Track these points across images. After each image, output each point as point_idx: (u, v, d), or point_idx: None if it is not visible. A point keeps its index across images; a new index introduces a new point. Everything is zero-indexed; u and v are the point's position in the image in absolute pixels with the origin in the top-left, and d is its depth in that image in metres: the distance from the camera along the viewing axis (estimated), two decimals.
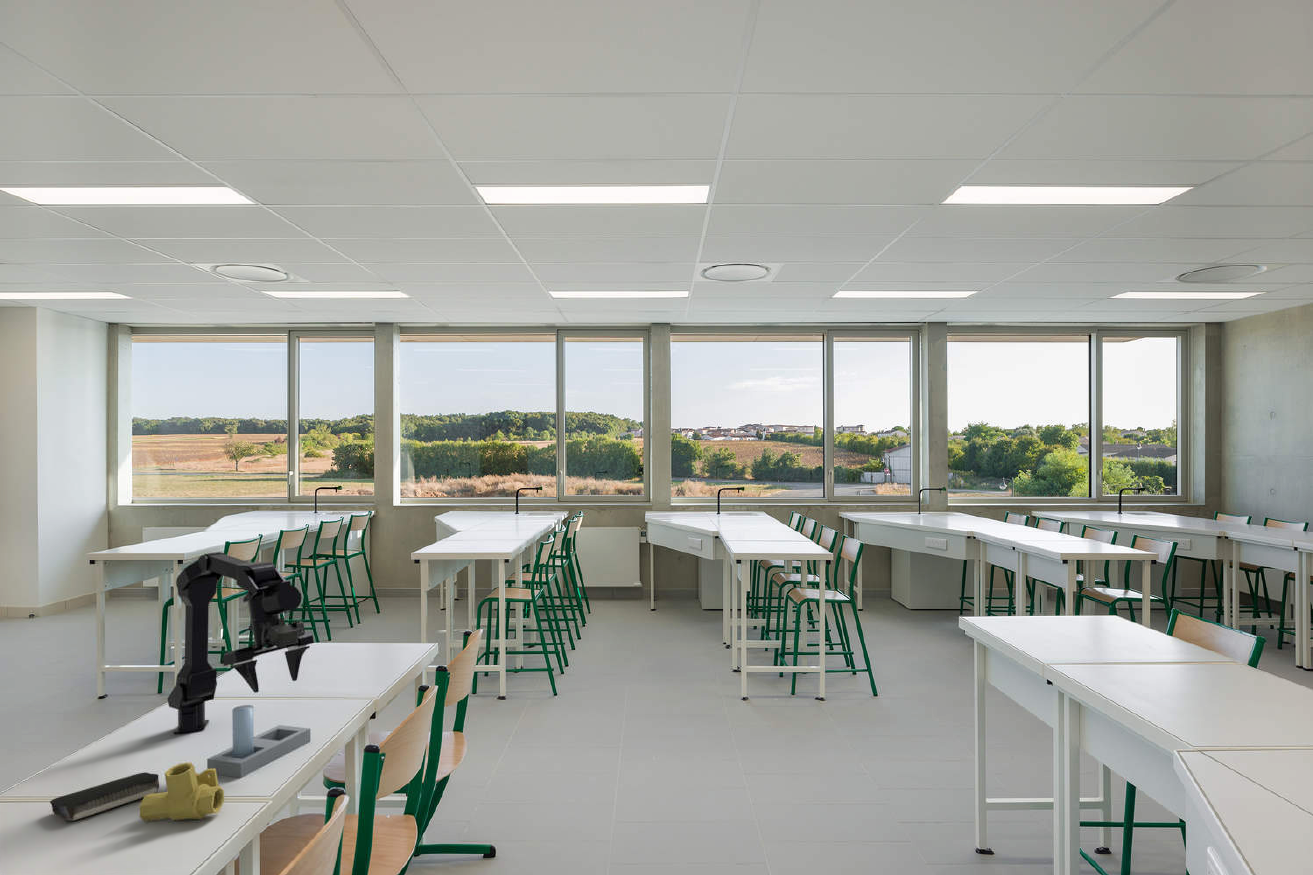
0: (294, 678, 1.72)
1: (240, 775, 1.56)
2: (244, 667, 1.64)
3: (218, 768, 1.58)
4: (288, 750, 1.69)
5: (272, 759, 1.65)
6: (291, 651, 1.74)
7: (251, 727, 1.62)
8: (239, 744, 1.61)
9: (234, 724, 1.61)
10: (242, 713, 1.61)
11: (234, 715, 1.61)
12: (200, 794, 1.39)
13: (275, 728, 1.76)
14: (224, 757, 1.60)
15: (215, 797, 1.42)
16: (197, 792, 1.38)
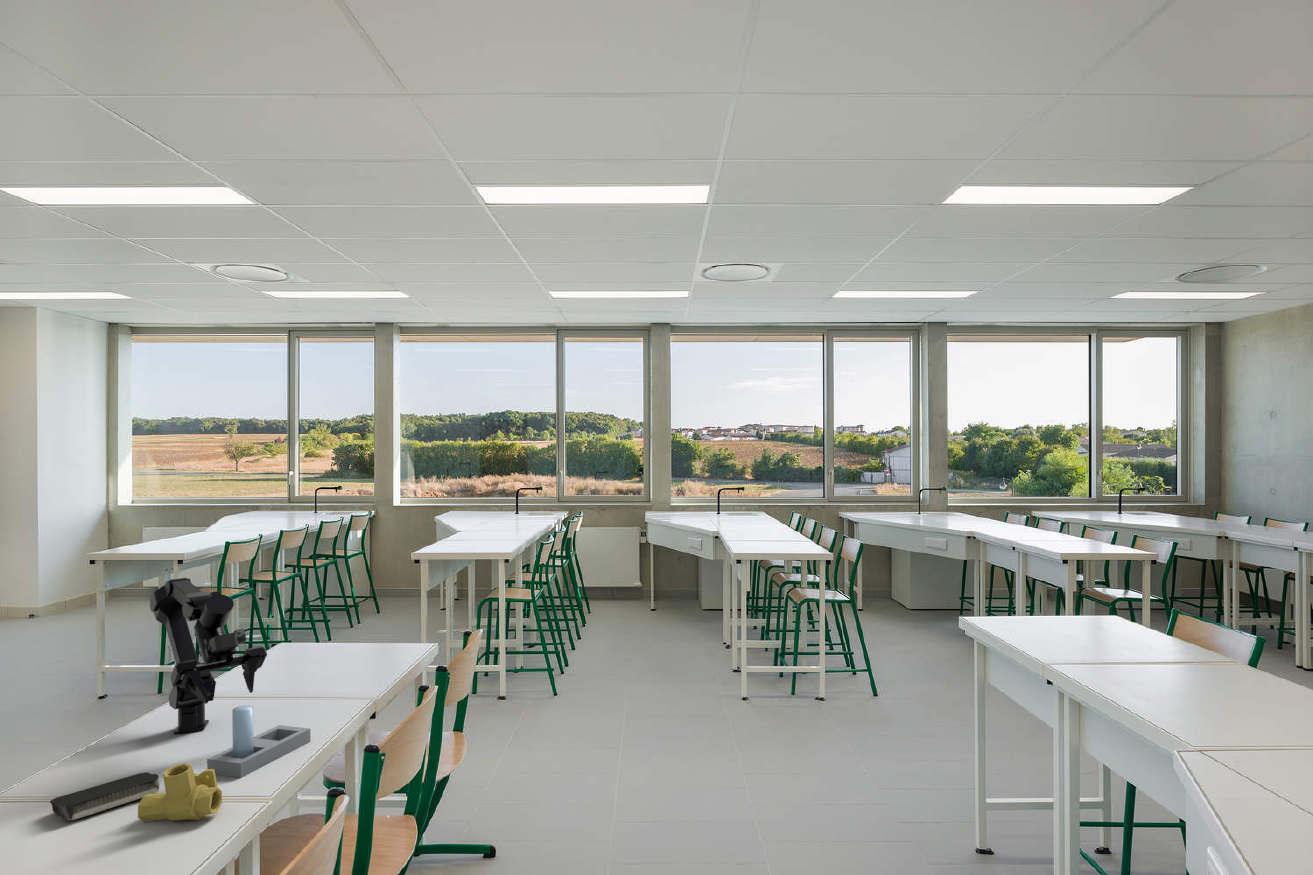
0: (250, 689, 1.71)
1: (240, 775, 1.56)
2: (193, 683, 1.67)
3: (218, 768, 1.58)
4: (288, 750, 1.69)
5: (272, 759, 1.65)
6: (245, 667, 1.75)
7: (251, 727, 1.62)
8: (239, 744, 1.61)
9: (234, 724, 1.61)
10: (242, 713, 1.61)
11: (234, 715, 1.61)
12: (198, 795, 1.38)
13: (275, 728, 1.76)
14: (224, 757, 1.60)
15: (213, 798, 1.41)
16: (195, 793, 1.38)
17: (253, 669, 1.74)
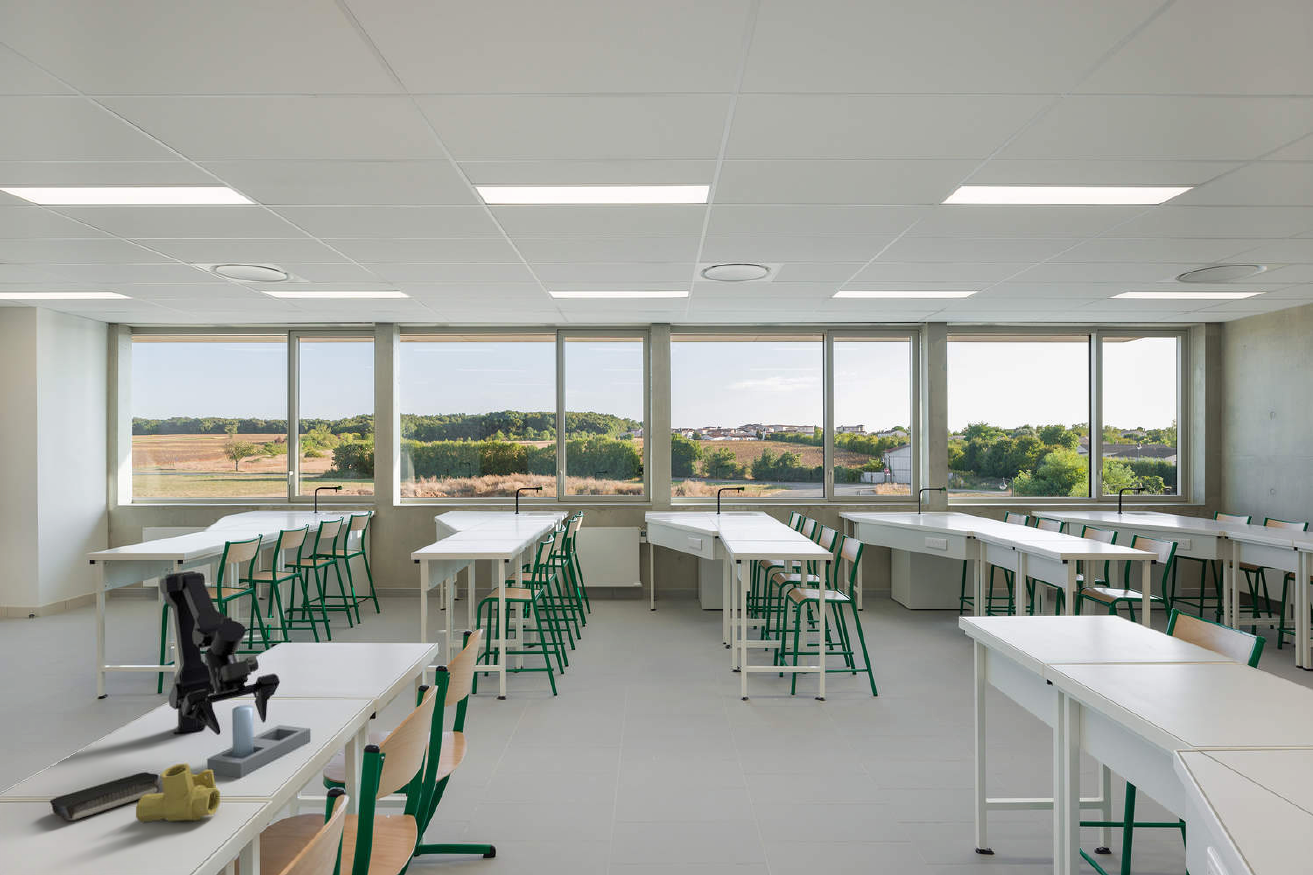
0: (263, 718, 1.66)
1: (240, 775, 1.56)
2: (204, 713, 1.62)
3: (218, 768, 1.58)
4: (288, 750, 1.69)
5: (272, 759, 1.65)
6: (258, 695, 1.70)
7: (251, 727, 1.62)
8: (239, 744, 1.61)
9: (234, 724, 1.61)
10: (242, 713, 1.61)
11: (234, 715, 1.61)
12: (195, 795, 1.38)
13: (275, 728, 1.76)
14: (224, 757, 1.60)
15: (211, 799, 1.41)
16: (192, 793, 1.38)
17: (266, 698, 1.69)
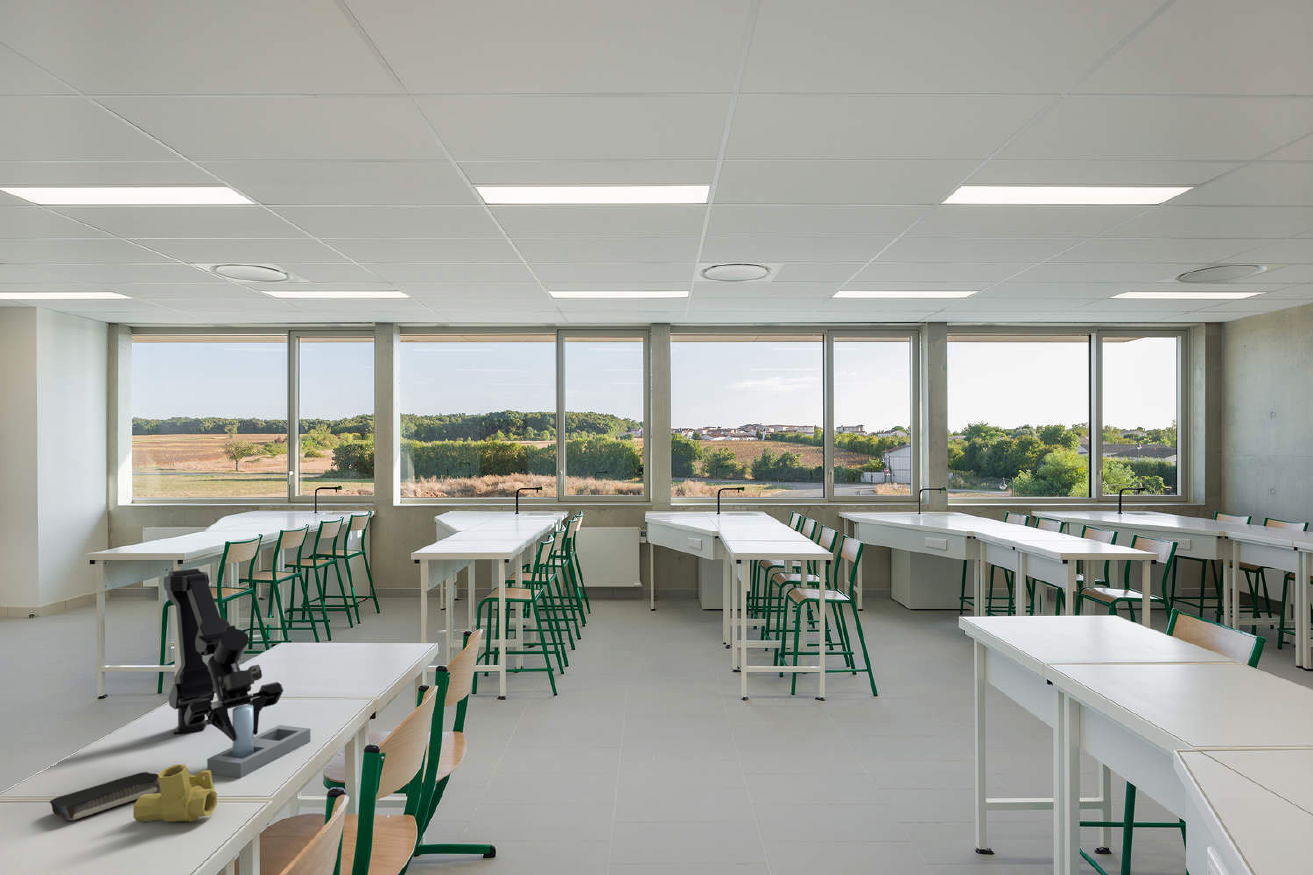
0: (254, 731, 1.63)
1: (240, 775, 1.56)
2: (220, 719, 1.62)
3: (218, 768, 1.58)
4: (288, 750, 1.69)
5: (272, 759, 1.65)
6: None
7: (251, 727, 1.62)
8: (239, 744, 1.61)
9: (234, 724, 1.61)
10: (242, 713, 1.61)
11: (234, 715, 1.61)
12: (192, 796, 1.38)
13: (275, 728, 1.76)
14: (224, 757, 1.60)
15: (208, 800, 1.41)
16: (189, 794, 1.37)
17: (257, 709, 1.66)
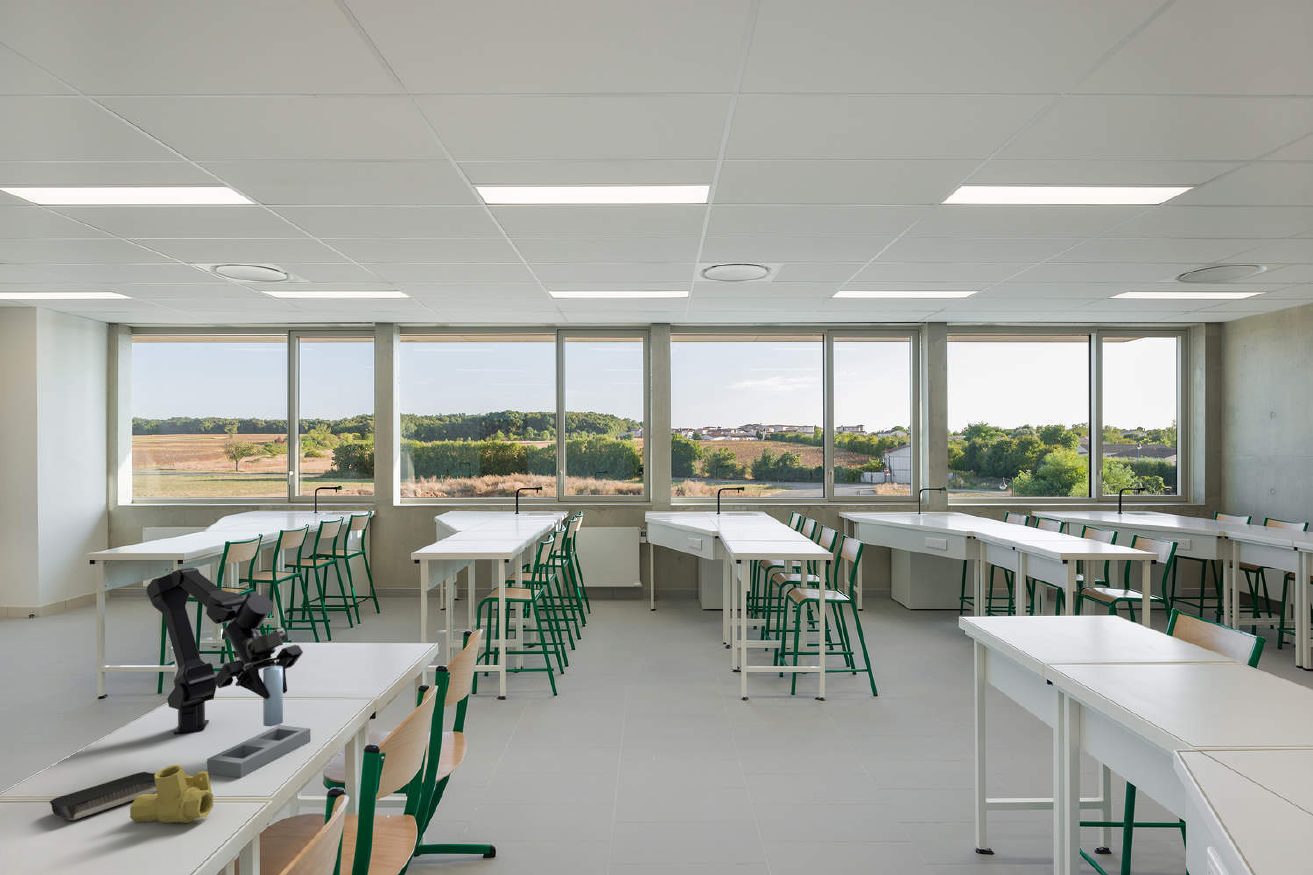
0: (284, 689, 1.72)
1: (240, 775, 1.56)
2: (249, 680, 1.69)
3: (218, 768, 1.58)
4: (288, 750, 1.69)
5: (272, 759, 1.65)
6: None
7: (282, 686, 1.71)
8: (272, 702, 1.69)
9: (267, 683, 1.69)
10: (275, 672, 1.69)
11: (267, 675, 1.69)
12: (188, 798, 1.37)
13: (275, 728, 1.76)
14: (224, 757, 1.60)
15: (204, 801, 1.40)
16: (184, 796, 1.37)
17: (283, 670, 1.74)
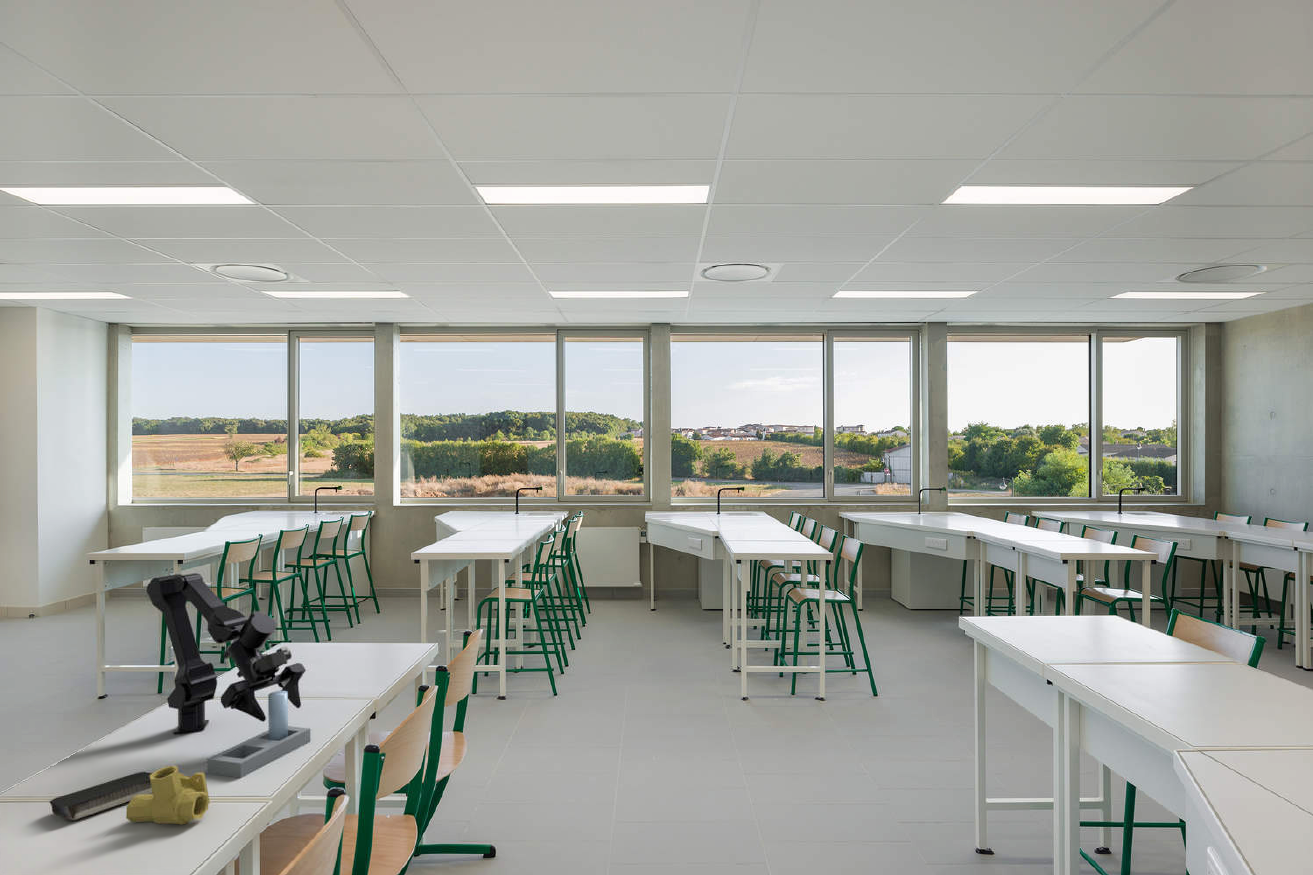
0: (298, 704, 1.76)
1: (240, 775, 1.56)
2: (244, 703, 1.68)
3: (218, 768, 1.58)
4: (288, 750, 1.69)
5: (272, 759, 1.65)
6: (286, 684, 1.78)
7: (287, 710, 1.73)
8: (277, 727, 1.70)
9: (272, 708, 1.70)
10: (280, 697, 1.71)
11: (272, 700, 1.70)
12: (182, 799, 1.37)
13: None
14: (224, 757, 1.60)
15: (200, 802, 1.40)
16: (179, 797, 1.36)
17: (296, 685, 1.78)
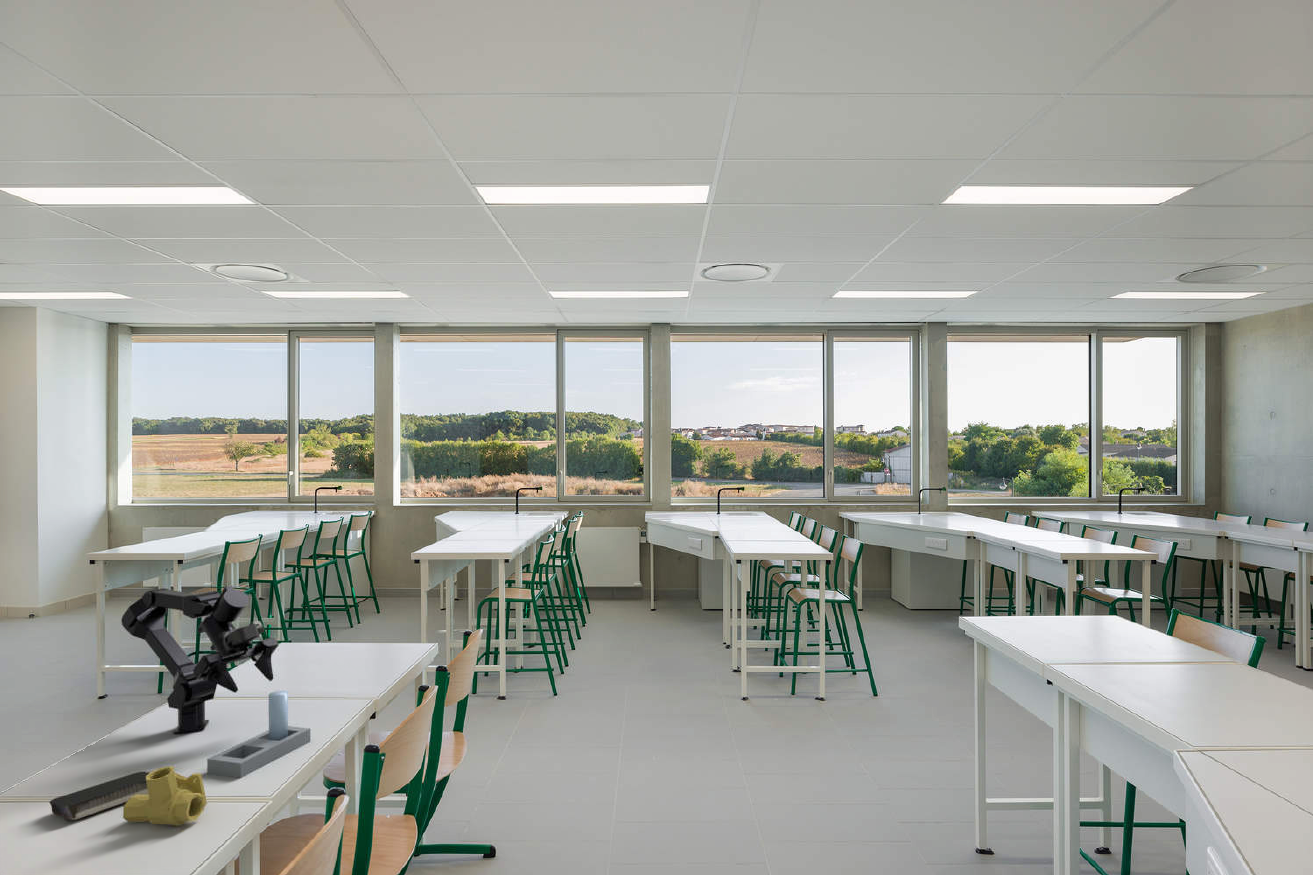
0: (270, 677, 1.80)
1: (240, 775, 1.56)
2: (217, 675, 1.72)
3: (218, 768, 1.58)
4: (288, 750, 1.69)
5: (272, 759, 1.65)
6: (259, 658, 1.82)
7: (287, 710, 1.73)
8: (277, 727, 1.70)
9: (272, 708, 1.70)
10: (280, 697, 1.71)
11: (272, 700, 1.70)
12: (177, 800, 1.36)
13: None
14: (224, 757, 1.60)
15: (196, 804, 1.39)
16: (174, 798, 1.36)
17: (269, 659, 1.82)
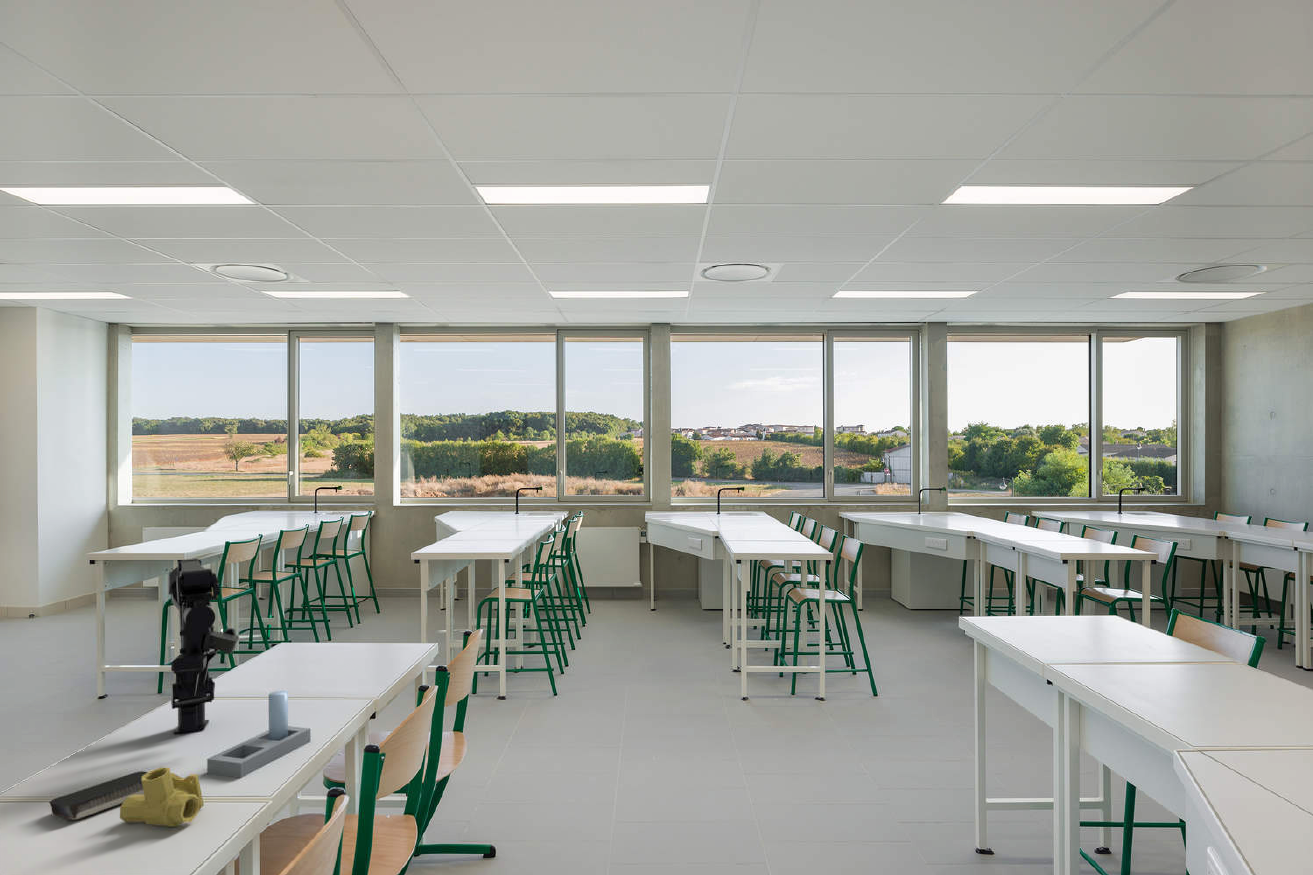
0: (202, 682, 1.78)
1: (240, 775, 1.56)
2: (186, 672, 1.68)
3: (218, 768, 1.58)
4: (288, 750, 1.69)
5: (272, 759, 1.65)
6: None
7: (287, 710, 1.73)
8: (277, 727, 1.70)
9: (272, 708, 1.70)
10: (280, 697, 1.71)
11: (272, 700, 1.70)
12: (172, 801, 1.36)
13: None
14: (224, 757, 1.60)
15: (191, 805, 1.39)
16: (169, 799, 1.36)
17: None
